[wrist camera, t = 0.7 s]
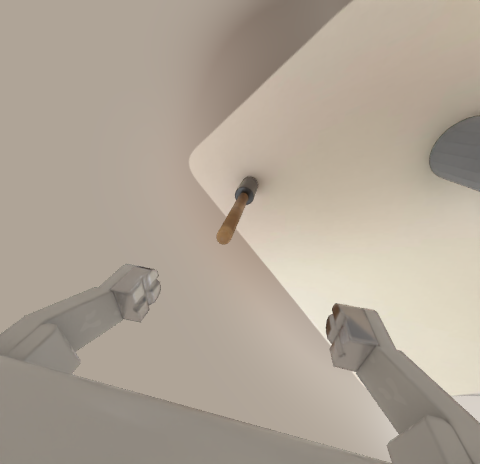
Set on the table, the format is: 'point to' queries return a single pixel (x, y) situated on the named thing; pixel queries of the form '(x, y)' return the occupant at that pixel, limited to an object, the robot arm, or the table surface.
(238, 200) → the bottle brush
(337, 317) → the robot arm
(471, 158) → the bottle
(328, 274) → the table surface
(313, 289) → the table surface
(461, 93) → the table surface
